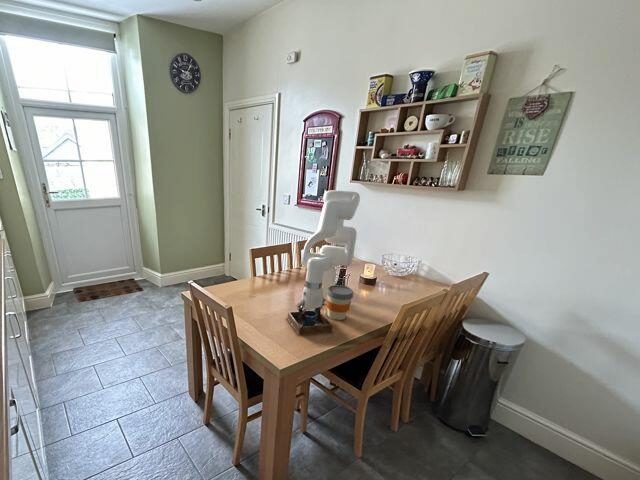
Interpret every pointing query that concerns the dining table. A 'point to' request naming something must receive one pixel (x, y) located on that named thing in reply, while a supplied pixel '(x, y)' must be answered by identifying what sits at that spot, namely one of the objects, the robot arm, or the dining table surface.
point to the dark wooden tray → (319, 326)
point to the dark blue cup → (310, 318)
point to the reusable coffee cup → (338, 301)
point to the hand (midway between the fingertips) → (309, 317)
